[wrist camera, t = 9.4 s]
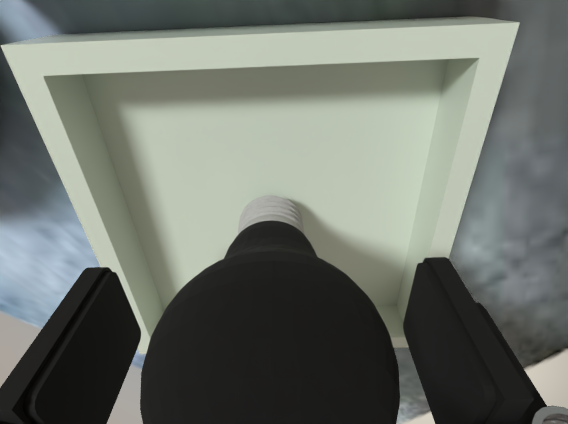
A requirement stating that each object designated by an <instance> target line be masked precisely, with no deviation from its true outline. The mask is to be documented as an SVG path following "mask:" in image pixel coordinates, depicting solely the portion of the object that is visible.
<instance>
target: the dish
mask: <svg viewBox="0 0 568 424" xmlns="http://www.w3.org/2000/svg"><path fill="white" fill-rule="evenodd" d="M519 24H520V23H519V22H512V21H505V20H498V19H491V18H484V17H477V16H464V17H442V18H419V19H397V20H374V21H352V22H329V23H306V24H284V25H261V26H239V27H216V28H194V29H171V30H148V31H126V32H103V33H81V34H58V35H50V36H45V37H40V38H35V39H30V40H25V41H19V42H14V43H9V44H4V45H0V46H1V48H2V50H3V52H4V55H5V57H6V59H7V61H8V63H9V66H10V68H11V70H12V72H13V74H14V77H15V79H16V81H17V83H18V86H19V88H20V90H21V92H22V94H23V97H24V99H25V101H26V103H27V105H28V108H29V110H30V112H31V114H32V116H33V119H34V121H35V123H36V125H37V127H38V130H39V132H40V134H41V136H42V138H43V141H44V143H45V145H46V147H47V150H48V152H49V154H50V156H51V158H52V161H53V163H54V165H55V167H56V169H57V172H58V174H59V176H60V178H61V180H62V183H63V185H64V187H65V189H66V191H67V194H68V196H69V198H70V200H71V202H72V205H73V207H74V209H75V211H76V214H77V216H78V218H79V220H80V222H81V225H82V227H83V229H84V231H85V233H86V236H87V238H88V240H89V242H90V244H91V247H92V249H93V251H94V253H95V255H96V258H97V260H98V262H99V264H100V266H101V267H109V268H110V269H111V270H112V272H116V273H117V275H118V277H119V279H120V282H121V284H122V287H123V289H124V291H125V294H126V296H127V298H128V301H129V303H130V305H131V308H132V310H133V313H134V315H135V317H136V320H137V322H138V324H139V327H140V329H141V339H140V343H139V345H138V350H139V353H140V354H146V353H147V349H148V346H149V342H150V338H151V336H152V334H153V332H154V330H155V328H156V326H157V324H158V322H159V320H160V318H161V317H162V315H163V313H164V311H165V309H166V307H167V306H168V305H169V303H170V302H171V301H172V300H173V298H174V297H175V296H176V294H177V293H178V292H179V291H180V289H182V288H183V287H184V286H185V285H186V284H187V283H188V282H189V281H190V280H191V279H193V278H194V277H195V276H196V275H198V274H199V273H200V272H202V271H203V270H204V269H205V268H207V267H209V266H211V265H212V264H214V263H216V262H218V261H219V260H222V259H224V257H225V255H226V253H227V251H228V248H229V246H230V245H231V244H232V242H233V241H234V240H235V237H236V236H237V235H238V227H239V220H240V215H241V214H242V212H243V210H244V208H245V207H246V206H247V205H248V204H249V203H250V202H251V201H253V200H255V199H256V198H259V197H263V196H270V195H271V196H279V197H282V198H285V199H287V200H289V201H290V202H291V203H293V204H294V205H295V206H296V207H297V208H298V210H299V211H300V213H301V216H302V219H303V220H302V222H303V229H304V234H305V236H306V238H307V239H308V240H309V242H310V243H311V245H312V247H313V248H314V250H315V252H316V255H317V257H318V258H321V259H323V260H325V261H326V262H328V263H330V264H332V265H334V266H335V267H337V268H338V269H340V270H341V271H342V272H344V273H345V274H347V275H348V276H349V277H350V278H351V279H352V280H353V281H354V282H355V283H356V284H357V285H358V286H359V287H360V288H361V289H362V290H363V291H364V292H365V293H366V294H367V295H368V297H369V298H370V299H371V301H372V302H373V304H374V305H375V307H376V309H377V310H378V312H379V314H380V316H381V318H382V319H383V321H384V323H385V325H386V327H387V329H388V332H389V334H390V337H391V341H392V344H393V348H409V346H408V344H407V341H406V338H405V335H404V330H403V322H404V317H405V313H406V309H407V305H408V301H409V296H410V292H411V288H412V284H413V280H414V275H415V271H416V267H417V264H418V263H423V260H424V259H425V258H430V257H446V258H449V255H450V252H451V248H452V245H453V242H454V239H455V235H456V232H457V229H458V225H459V222H460V219H461V215H462V212H463V209H464V205H465V202H466V199H467V196H468V192H469V189H470V186H471V182H472V179H473V176H474V172H475V169H476V166H477V162H478V159H479V156H480V153H481V149H482V146H483V143H484V139H485V136H486V133H487V129H488V126H489V123H490V119H491V116H492V113H493V110H494V106H495V103H496V100H497V96H498V93H499V90H500V86H501V83H502V80H503V76H504V73H505V70H506V67H507V63H508V60H509V57H510V53H511V50H512V47H513V43H514V40H515V37H516V33H517V30H518V27H519Z"/></svg>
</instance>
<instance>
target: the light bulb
mask: <svg viewBox="0 0 568 424" xmlns="http://www.w3.org/2000/svg"><path fill="white" fill-rule="evenodd" d="M302 220H303V219H302V216H301V213H300V211H299V210H298V208H297V207H296V206H295V205H294V204H293V203H291V202H290V201H289V200H287V199H285V198H282V197H279V196H271V195H270V196H263V197H259V198H256V199H255V200H253V201H251V202H250V203H249V204H248V205H247V206H246V207H245V208H244V210H243V212H242V214H241V215H240V220H239V227H238V235H237V236H236V237H235V240H234V241H233V242H232V244H231V245H230V246H229V248H228V251H227V253H226V255H225V257H224V259H222V260H219V261H218V262H216V263H214V264H212V265H211V266H209V267H207V268H205V269H204V270H203V271H202V272H200V273H199V274H198V275H196V276H195V277H194V278H193V279H191V280H190V281H189V282H188V283H187V284H186V285H185V286H184V287H183V288H182V289H180V291H179V292H178V293H177V294H176V296H175V297H174V298H173V300H172V301H171V302H170V303H169V305H168V306H167V307H166V309H165V311H164V313H163V315H162V317H161V318H160V320H159V322H158V324H157V326H156V328H155V330H154V332H153V334H152V336H151V338H150V342H149V346H148V349H147V353H146V357H145V360H144V364H143V368H142V373H141V399H140V407H141V408H140V410H141V415H142V420H143V424H396V421H397V415H398V410H399V402H400V391H399V370H398V364H397V359H396V355H395V352H394V348H393V344H392V341H391V337H390V334H389V332H388V329H387V327H386V325H385V323H384V321H383V319H382V318H381V316H380V314H379V312H378V310H377V309H376V307H375V305H374V304H373V302H372V301H371V299H370V298H369V297H368V295H367V294H366V293H365V292H364V291H363V290H362V289H361V288H360V287H359V286H358V285H357V284H356V283H355V282H354V281H353V280H352V279H351V278H350V277H349V276H348V275H347V274H345V273H344V272H342V271H341V270H340V269H338V268H337V267H335V266H334V265H332V264H330V263H328V262H326V261H325V260H323V259H321V258H318V257H317V255H316V252H315V250H314V248H313V247H312V245H311V243H310V242H309V240H308V239H307V238H306V236H305V234H304V229H303V222H302Z"/></svg>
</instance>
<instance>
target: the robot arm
mask: <svg viewBox="0 0 568 424" xmlns="http://www.w3.org/2000/svg"><path fill="white" fill-rule="evenodd" d="M403 330H404V335H405V338H406V341H407V344H408V346H409V349H410V352H411V355H412V358H413V361H414V364H415V366H416V369H417V372H418V375H419V378H420V381H421V384H422V387H423V389H424V392H425V395H426V398H427V401H428V404H429V407H430V409H431V412H432V415H433V418H434V421H435V424H568V409H566V408H564V407H557V406H548V407H547V405H546V404H545V402H544V401H543V399H542V398H541V396H540V394H539V393H538V391H537V390H536V388H535V386H534V385H533V383H532V382H531V380H530V378H529V377H528V376H527V374H526V372H525V371H524V369H523V367H522V366H521V364H520V363H519V361H518V359H517V358H516V356H515V355H514V353H513V351H512V350H511V348H510V347H509V345H508V344H507V342H506V340H505V339H504V337H503V336H502V334H501V332H500V331H499V329H498V328H497V326H496V325H495V323H494V321H493V320H492V318H491V317H490V315H489V313H488V312H487V310H486V309H485V308H484V307H483V305H481V304H480V303H476V302H475V301H474V300H473V298H472V297H471V295H470V293H469V292H468V290H467V288H466V287H465V285H464V283H463V282H462V280H461V279H460V277H459V275H458V274H457V272H456V270H455V269H454V267H453V265H452V264H451V262H450V261H449V259H448V258H446V257H430V258H425V259H424V260H423V263H418V264H417V267H416V271H415V275H414V280H413V284H412V288H411V292H410V296H409V301H408V305H407V309H406V313H405V317H404V322H403ZM140 339H141V329H140V327H139V324H138V322H137V320H136V317H135V315H134V313H133V310H132V308H131V305H130V303H129V301H128V298H127V296H126V294H125V291H124V289H123V287H122V284H121V282H120V279H119V277H118V275H117V273H116V272H112V270H111V269H110V268H109V267H95V268H86V269H85V270H84V271H83V272H82V274H81V275H80V276H79V278H78V279H77V281H76V282H75V283H74V285H73V286H72V288H71V289H70V291H69V292H68V293H67V295H66V296H65V298H64V299H63V300H62V302H61V303H60V305H59V306H58V307H57V309H56V310H55V312H54V313H53V314H52V316H51V317H50V319H49V320H48V322H47V323H46V324H45V326H44V327H43V329H42V330H41V332H40V333H39V334H38V336H37V337H36V339H35V340H34V341H33V343H32V344H31V346H30V347H29V349H28V350H27V351H26V353H25V354H24V355H23V357H22V358H21V360H20V361H19V362H18V364H17V365H16V367H15V368H14V369H13V371H12V372H11V374H10V375H9V376H8V378H7V379H6V381H5V382H4V384H3V385H2V386H1V388H0V424H106V423H107V421H108V419H109V416H110V414H111V411H112V409H113V406H114V404H115V402H116V399H117V397H118V394H119V392H120V389H121V387H122V384H123V382H124V379H125V377H126V374H127V372H128V370H129V367H130V365H131V362H132V360H133V357H134V355H135V352H136V350H137V348H138V345H139V343H140Z"/></svg>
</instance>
